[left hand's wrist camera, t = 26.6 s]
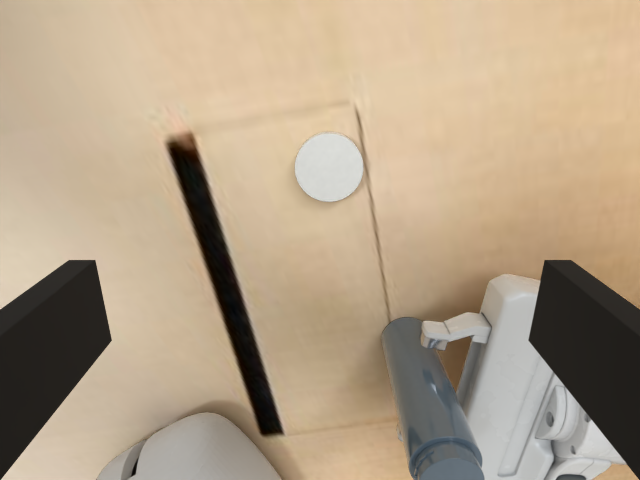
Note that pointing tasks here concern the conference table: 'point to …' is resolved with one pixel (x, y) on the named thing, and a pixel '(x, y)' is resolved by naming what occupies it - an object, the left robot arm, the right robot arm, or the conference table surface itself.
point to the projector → (193, 454)
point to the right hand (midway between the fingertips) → (409, 382)
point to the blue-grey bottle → (428, 408)
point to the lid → (329, 166)
